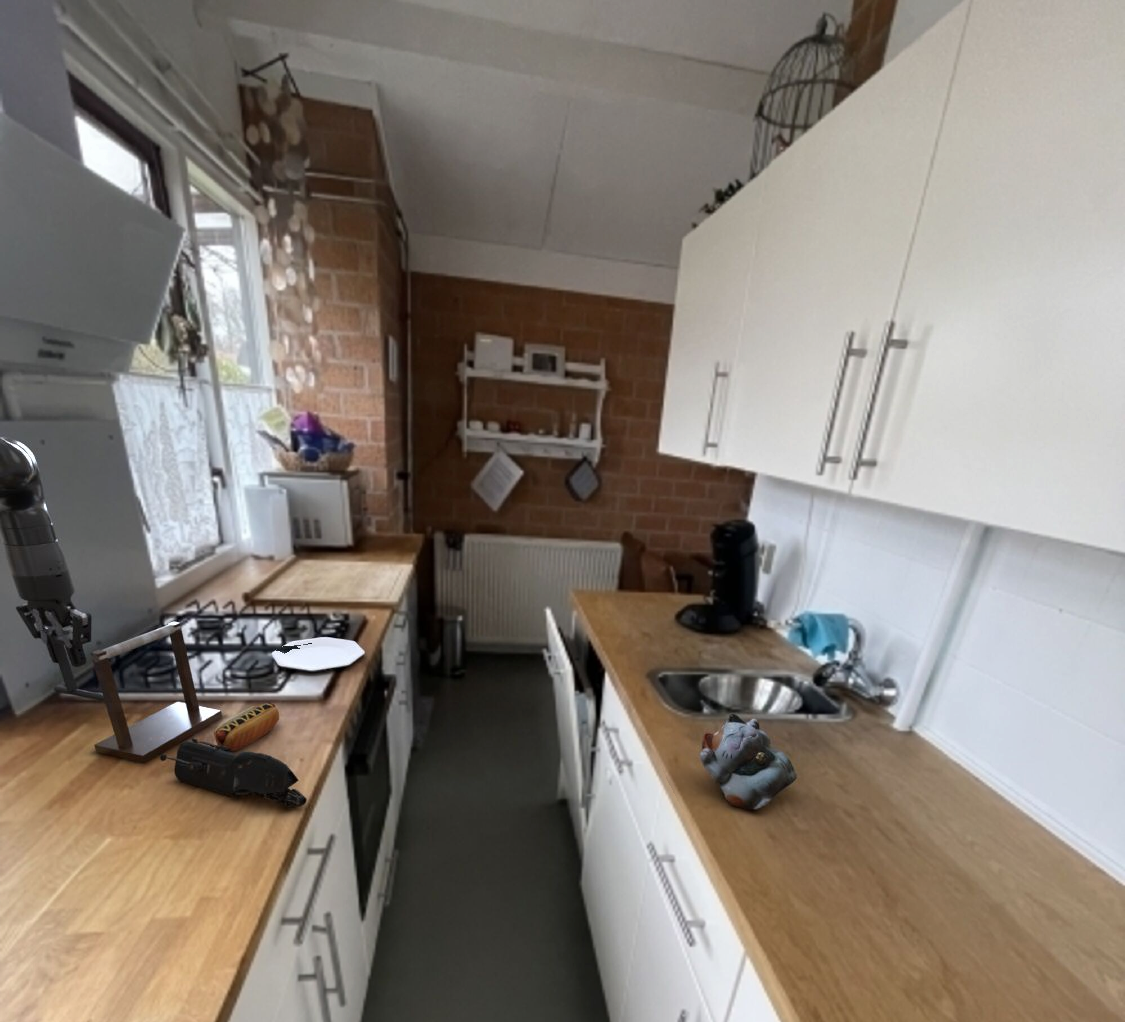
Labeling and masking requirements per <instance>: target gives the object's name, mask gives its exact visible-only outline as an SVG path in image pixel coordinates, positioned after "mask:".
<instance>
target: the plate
mask: <svg viewBox="0 0 1125 1022" xmlns="http://www.w3.org/2000/svg"><path fill="white" fill-rule="evenodd" d="M308 643H312V644H308ZM303 644H308V645H303ZM294 645H301V646H297V647H298V648H300V649H292V650H290V651H289V652H287V653H285V654H284V653H282V652H280V651H276V650H274V651H272V653H271V656H272V658H273V660H274V662H275V663H276V665H277V666H278V667H280V668H281V669H283V668H284V669H288V670H289V669H290V670H296V671H303V672H310V673H316V672H322V670H323V671H328V670H327V669H329V670H333V669H332V668H335V669H340V668H347V667H350V666H352V664H354V663H355V662H356V661H358V660H359V659H360V658H362V657H363V656H364V655H366V652H365V650H364V649H363V648H362V647H361V646H360V645H359V644H358V643H357V642H356V641H354V640H350V639H342V638H335V637H328V636H323V637H322V636H321V637H314V638H307V639H299V640H293V641H290V642H288V643H286V644H284V645H283V646H294Z"/></svg>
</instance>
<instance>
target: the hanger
mask: <svg viewBox="0 0 1125 1022" xmlns="http://www.w3.org/2000/svg"><path fill="white" fill-rule="evenodd" d="M70 638H71V640H73V637H70ZM50 641H51V644H52V647H53V650H54V653H55V656H56V658H57V661H58V663H57V664H58V667H59V670H60V673H61V676H62V679H63V683H64V685H58V684H57V685H55V686H54V687H53V690H54V692H57V693H61V694H66V695H71V696H76V697H81V698H85V699H90V700H95V701H100V702H105V701H104V697H103V694H102V693H99V692H93V691H88V690H83V689H79V688H78V685H77V682H76V679H75V676H74V674H73V673H74V672H73V670H72V666H71V663H70V658H69V655H68V652H67V649H66V648H67V646H66V644H65V642H64V641H63V639H62V637H61V636H55V637H52V638H50Z"/></svg>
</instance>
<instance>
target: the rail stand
mask: <svg viewBox="0 0 1125 1022" xmlns="http://www.w3.org/2000/svg"><path fill="white" fill-rule="evenodd" d="M167 636H169V638H170V639H169V640H170V643H171V648H172V652H173V656H174V660H175V664H176V669H177V673H178V678H179V681H180V686H181V687H180V688H181V692H182V696H183V699H184V702H181V701H176V702H174V703H172V704H171V705H168V706H167V707H164V708H162V709H160V710H159V711H157V712H155V713H153V714H151V715H149V716H147V717H145V718H143V719H141V720H139V721H138V722H135V723H133V724H132V725H128V723H127V719H126V716H125V712H124V708H123V706H122V701H121V698H120V696H119V691H118V687H117V684H116V681H115V677H114V673H113V670H112V666H111V664H110V660H109V659H111V658H114V657H117V656H119V655H122V654H124V653H126V652H129V651H132V650H134V649H137V648H140V647H142V646H144V645H148V644H149V643H152V642H155V641H158V640H160V639H163V638H164V637H167ZM187 651H188V650H187V647H186V643H185V637H184V634H183V630H182V625H181V622H177V621H172V622H169V623H167V624H166V625H164V626H161V627H159V628H156V629H153V630H151V631H148V632H146V633H143V634H141V635H138V636H135V637H132V638H130V639H127V640H125V641H122V642H120V643H116V644H113V645H110V646H109V647H105V648H103V649H97V650H94V651H91V652H90V653H89V654H90V658H91V661H92V663H93V667H94V670H95V674H96V678H97V681H98V684H99V687H100V689H101V694H103V697H104V701H103V702H104V704H105V707H106V711H107V713H108V717H109V720H110V724H111V728H112V731H113V735H111V736H109V737H106V738H105V739H103V740H101V741H99V742H97V743H95V744H94V745H93V746H94V749H95V752H96V753H99V754H102V755H107V756H111V757H116V758H120V759H124V760H129V761H133V762H138V763H141V764H142V763H143V764H146V763H148V762H149V761H151V760H153V759H154V758H156V757H158V756H161V754H164V753H165V752H166V751H169V750H170V749H172V748H173V747H175V746H176V745H178V744H181V743H183V742H184V741H186V739H189V738H191V737H192V736H193V735H195V734H197V733H199V732H200V731H202V730H203V729H205V728H207V727H209V726H210V725H212V724H214V723H216V722H217V721H218V720H221V719H222V718H223V713H222V710H221V709H215V708H211V707H205V706H200V705H199V701H198V695H197V691H196V687H195V683H194V678H193V674H192V669H191V665H190V661H189V656H188V652H187Z"/></svg>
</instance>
